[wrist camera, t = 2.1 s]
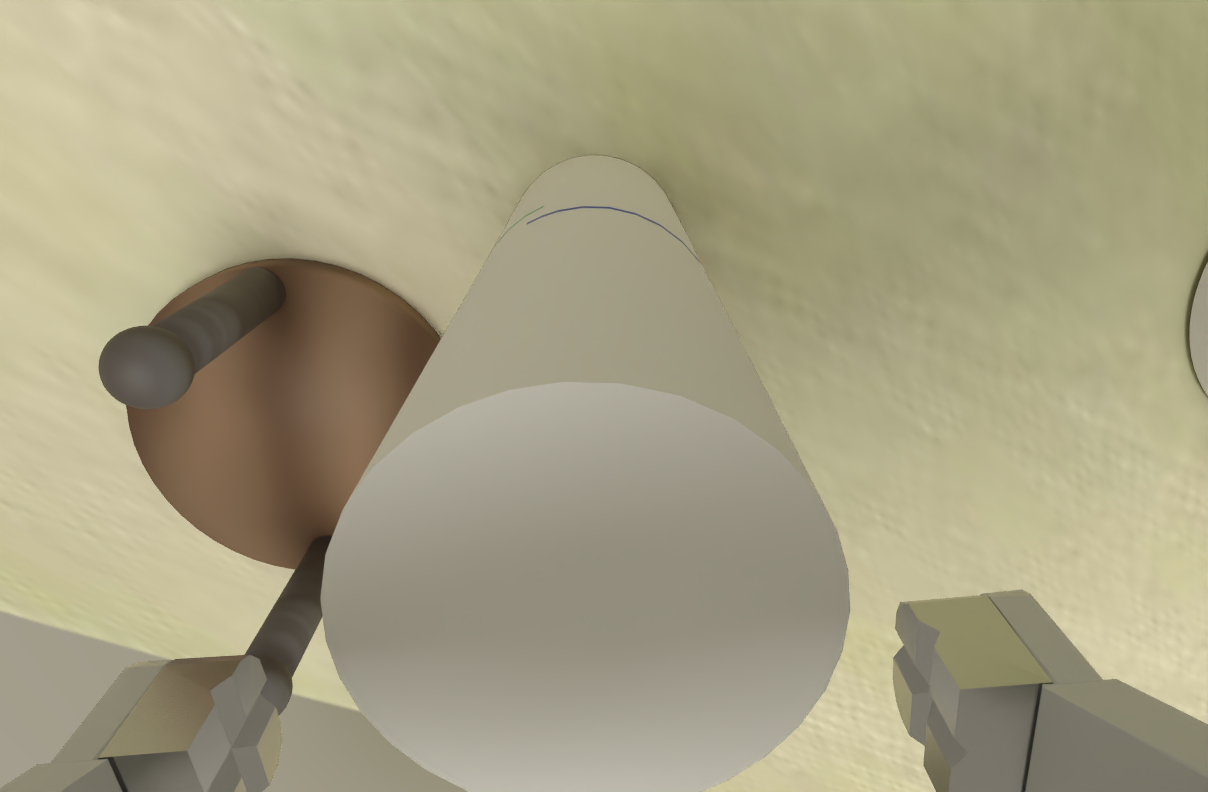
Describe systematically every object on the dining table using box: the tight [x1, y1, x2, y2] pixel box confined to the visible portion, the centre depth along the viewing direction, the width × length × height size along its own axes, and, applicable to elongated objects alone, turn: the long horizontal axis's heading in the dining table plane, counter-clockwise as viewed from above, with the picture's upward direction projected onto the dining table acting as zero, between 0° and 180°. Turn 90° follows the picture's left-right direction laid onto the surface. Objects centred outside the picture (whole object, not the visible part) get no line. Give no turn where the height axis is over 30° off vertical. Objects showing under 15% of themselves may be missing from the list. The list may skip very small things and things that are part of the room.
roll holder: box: [99, 259, 441, 716], centre depth 31 cm, size 15×16×12 cm
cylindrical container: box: [320, 155, 850, 792], centre depth 22 cm, size 7×7×25 cm
